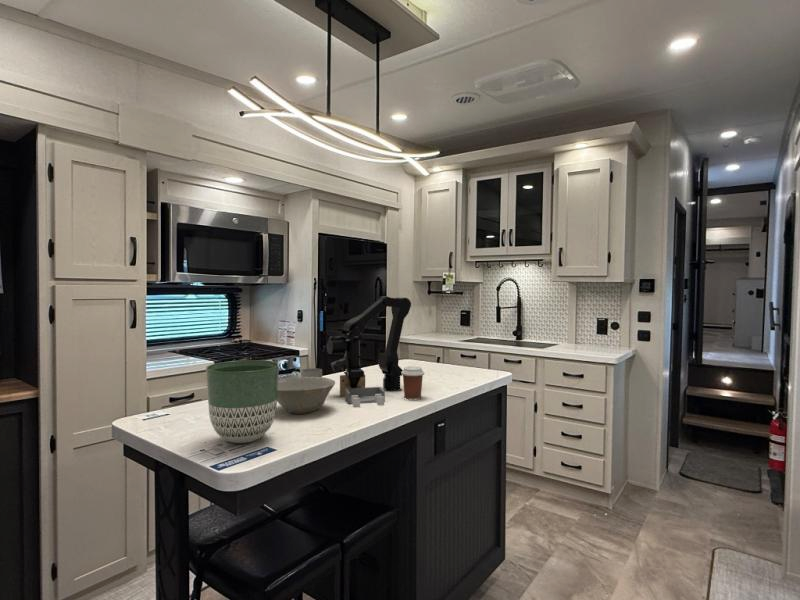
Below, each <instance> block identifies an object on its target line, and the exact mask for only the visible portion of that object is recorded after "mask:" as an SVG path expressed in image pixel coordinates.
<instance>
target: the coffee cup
mask: <svg viewBox="0 0 800 600" xmlns="http://www.w3.org/2000/svg"><path fill="white" fill-rule="evenodd" d="M402 370H403V371H402V372H401V374H402V380H403V393H404V399H405V398H406V399H405V400H407V399H412V400H411V401H414V400H413V399H419V400H421V399H422V389H423V388H422V387H423V377H424V375H425V371H424V370H423V368H422V367H421V366H416V365H415V366H414V365H413V366H411V365H410V366H404V368H403V369H402ZM420 398H421V399H420Z"/></svg>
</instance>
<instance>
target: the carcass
mask: <svg viewBox="0 0 800 600" xmlns="http://www.w3.org/2000/svg"><path fill="white" fill-rule="evenodd" d="M385 393H386V390H385V389H384V388H382V387H381V386H373V387H365V388H350V389H345V396H344V400H345V402H346V403H347V404H348V405H352V407H354V408H355V407H361V404H370V403H371V404H372V403H376V404H377V405H376V406H384V405H385V401H386V399H385V398H386V397H385V396H386V395H385Z"/></svg>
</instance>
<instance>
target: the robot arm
mask: <svg viewBox="0 0 800 600" xmlns="http://www.w3.org/2000/svg"><path fill="white" fill-rule="evenodd" d="M387 307H388V308H391V314H392V320H391V325H390V329H389V333H388V338H387V342H386V347H385V350H384V351H383V352H380V353H379V355H378V357H379V358H378V360H377V363H378V368H379V369H380V370H381V373H382V374H383V375H384V377H383V378H382V387H383V388H382V389H383V390H384V391H385V392H386V391H388V392H391V391H402V388H401V377H403V375H402V374H401V372H402V371H403V370H404V369H403V368H402V367H401V366H399V361H400V360H399V355H398V350H399V348H398V347H399V346H400V345H399V344H400V339H401V336H402V330H403V325H404V321H405V319H406V317H407V316H408V314H409V313H410V310H411V307H412V302H411V300H410V299H409V298H408V297H398V296H397V297H390V296H386V295H385V296H380V297H379V298H378V299H377V300H376V301H375V302H373V304H371V305H370V306H369V307H368V308H366V309H364V311H362V313H361V314H359V315H357V316H355V317H352V318H351V319H348V320H347V321H345V322H344V324H343V328H342V330H341V331H340V333H339V334H338V335H337V336H328V340H327V343H326V352H327V354H329V355H337V354H338V355H339V354H344V355H343V358H340V359H338V360H335V361H333V362H331V363H330V365H331V367H332V370H333V372H334V373H337V372H338V371H340V370H342V371H343V373H344V375H346V376H347V377H348V378H349V379H350V385H351V388H356V387H357V384H358V382H359V380H360V378H361V377H364V374H365V371H364V370H363V369H362V368H361V367H362V365H361V358H362V357H361V356H362V355H361V354H360V352H361V350H360V349H361V342H362V341H363V342H365V339H366V338H364V337H363V336H362V335H361V334H362V333H363V332H364V330H365V329H366V326H367V325H368V323H369V322H371V321H372V320H373V319H374V318H375V317H376V316H378V315H379V314H380V313H381V312H382V311H383V310H385V309H386V308H387Z"/></svg>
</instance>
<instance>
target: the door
mask: <svg viewBox="0 0 800 600" xmlns="http://www.w3.org/2000/svg"><path fill="white" fill-rule="evenodd" d="M350 388H351V385H350V379H349V378H348V377H347V376H346V375H345V374H342V375H341V374H340V375H339V396H340V397H345V389H350ZM356 388H366V374H365V373H364V377H361V378H360V380H359V382H358V384H357V387H356Z"/></svg>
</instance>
